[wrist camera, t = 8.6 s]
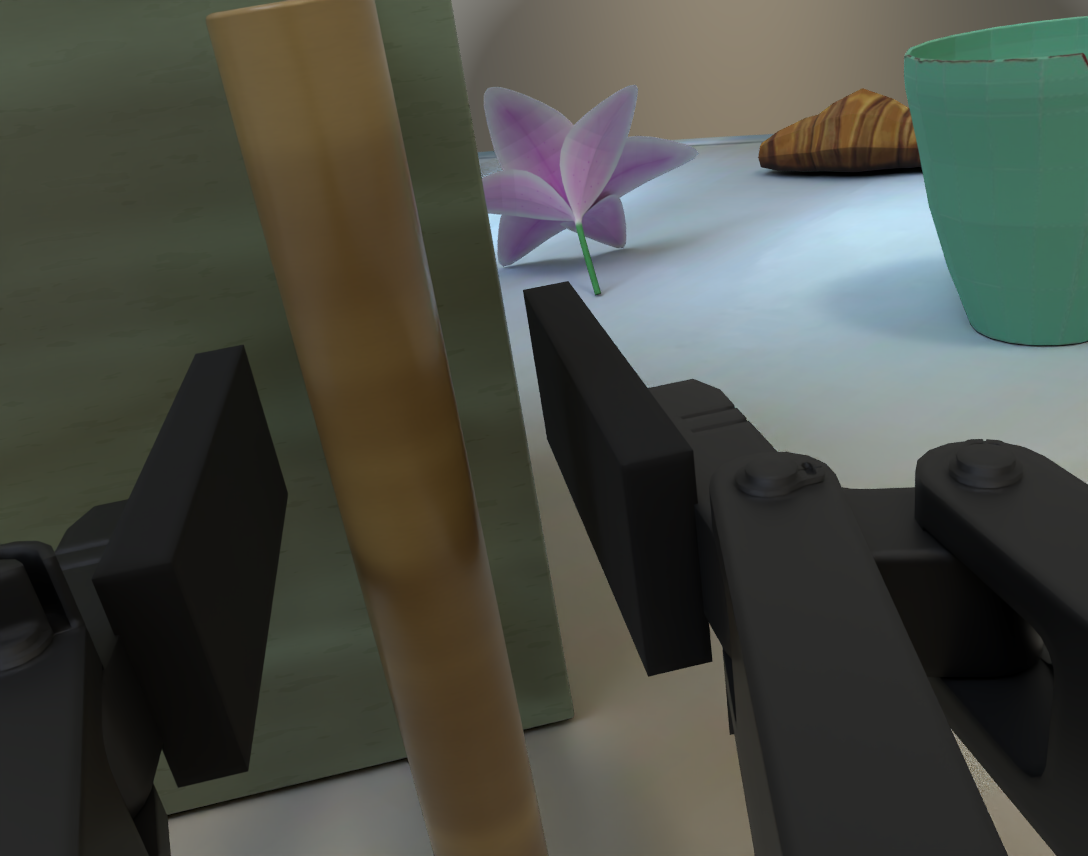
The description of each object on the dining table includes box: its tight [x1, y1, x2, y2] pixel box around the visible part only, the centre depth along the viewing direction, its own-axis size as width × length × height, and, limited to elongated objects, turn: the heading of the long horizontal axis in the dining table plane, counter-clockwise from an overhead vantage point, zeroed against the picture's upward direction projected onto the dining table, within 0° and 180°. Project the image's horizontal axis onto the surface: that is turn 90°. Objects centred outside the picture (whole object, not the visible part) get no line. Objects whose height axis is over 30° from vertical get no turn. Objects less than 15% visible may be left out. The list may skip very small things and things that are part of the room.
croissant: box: [758, 89, 922, 172], centre depth 60 cm, size 14×7×5 cm, turn 61°
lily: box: [482, 85, 699, 295], centre depth 48 cm, size 12×12×10 cm
